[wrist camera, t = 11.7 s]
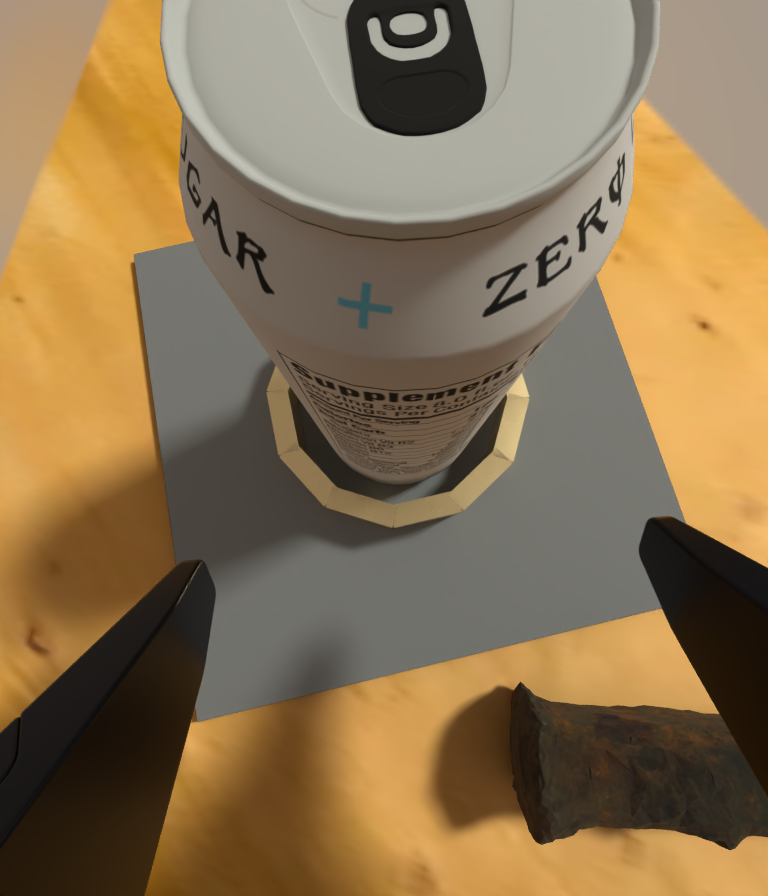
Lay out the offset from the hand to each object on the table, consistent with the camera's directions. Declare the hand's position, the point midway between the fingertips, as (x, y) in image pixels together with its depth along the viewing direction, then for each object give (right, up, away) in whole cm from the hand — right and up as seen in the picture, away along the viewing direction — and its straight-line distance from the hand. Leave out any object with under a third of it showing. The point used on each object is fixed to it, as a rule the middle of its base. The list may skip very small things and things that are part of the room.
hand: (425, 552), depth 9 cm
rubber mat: (0, +4, +10) cm, 11 cm away
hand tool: (+13, -8, +8) cm, 18 cm away
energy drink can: (0, +3, +10) cm, 11 cm away
